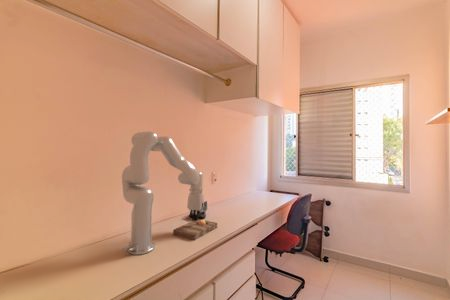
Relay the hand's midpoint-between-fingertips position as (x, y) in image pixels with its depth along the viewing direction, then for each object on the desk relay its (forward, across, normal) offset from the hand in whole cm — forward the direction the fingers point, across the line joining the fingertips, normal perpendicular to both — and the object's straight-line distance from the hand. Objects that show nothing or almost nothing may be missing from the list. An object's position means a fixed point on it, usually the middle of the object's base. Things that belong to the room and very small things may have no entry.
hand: (195, 220), depth 141 cm
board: (+6, +2, -1) cm, 6 cm away
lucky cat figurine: (+6, -15, +23) cm, 28 cm away
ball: (+3, +1, +6) cm, 6 cm away
